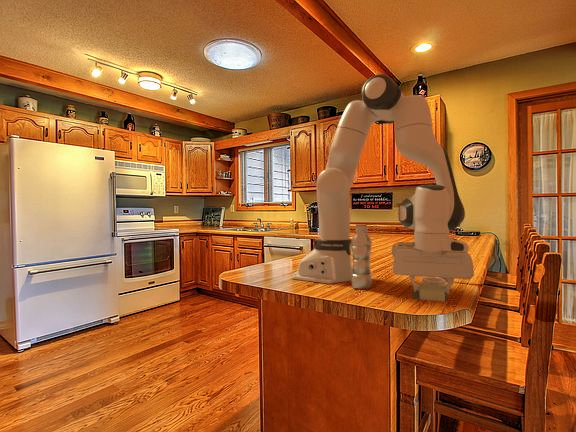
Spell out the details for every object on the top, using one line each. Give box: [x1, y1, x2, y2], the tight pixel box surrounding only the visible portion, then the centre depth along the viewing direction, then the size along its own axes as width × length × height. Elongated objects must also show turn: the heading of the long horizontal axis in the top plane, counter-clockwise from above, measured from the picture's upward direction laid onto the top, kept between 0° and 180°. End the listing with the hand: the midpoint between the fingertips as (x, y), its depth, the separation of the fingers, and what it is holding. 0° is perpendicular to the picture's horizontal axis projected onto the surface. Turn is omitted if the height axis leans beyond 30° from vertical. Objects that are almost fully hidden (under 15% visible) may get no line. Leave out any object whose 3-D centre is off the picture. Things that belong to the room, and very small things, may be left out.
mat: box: [410, 291, 450, 303], centre depth 87 cm, size 9×8×1 cm
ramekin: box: [421, 276, 447, 288], centre depth 95 cm, size 6×6×4 cm
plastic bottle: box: [350, 224, 373, 290], centre depth 98 cm, size 6×7×20 cm
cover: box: [418, 283, 446, 302], centre depth 87 cm, size 6×8×2 cm
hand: (431, 292), depth 87 cm, fingers closed on cover, 6 cm apart
